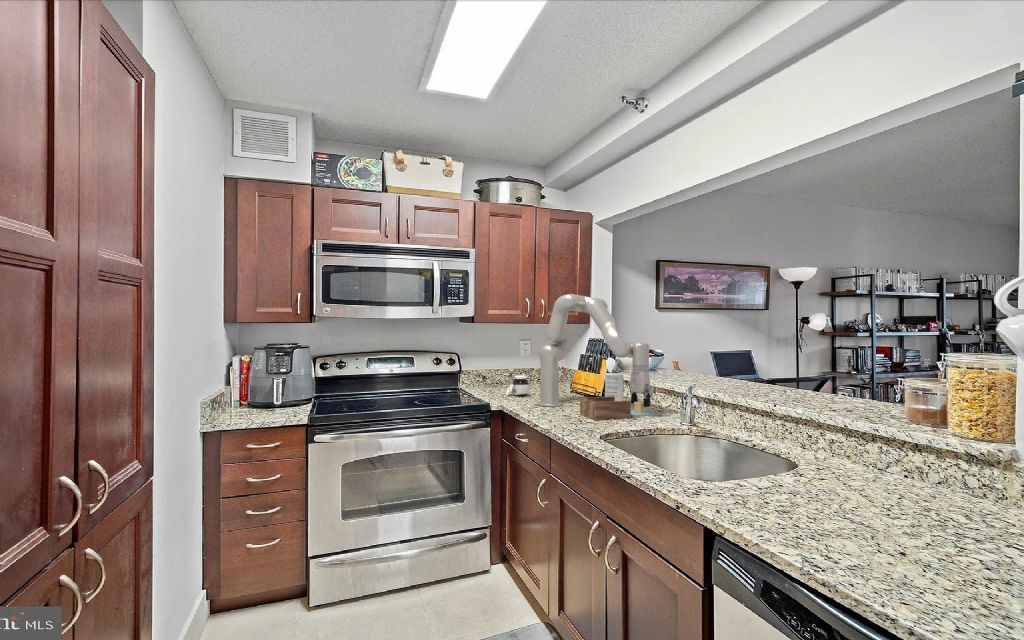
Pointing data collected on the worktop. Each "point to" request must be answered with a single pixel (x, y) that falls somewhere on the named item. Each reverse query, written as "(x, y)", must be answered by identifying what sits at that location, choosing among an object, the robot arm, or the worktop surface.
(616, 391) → the supplement box
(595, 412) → the slide box
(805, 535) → the worktop surface
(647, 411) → the cover plate
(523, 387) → the spread jar
